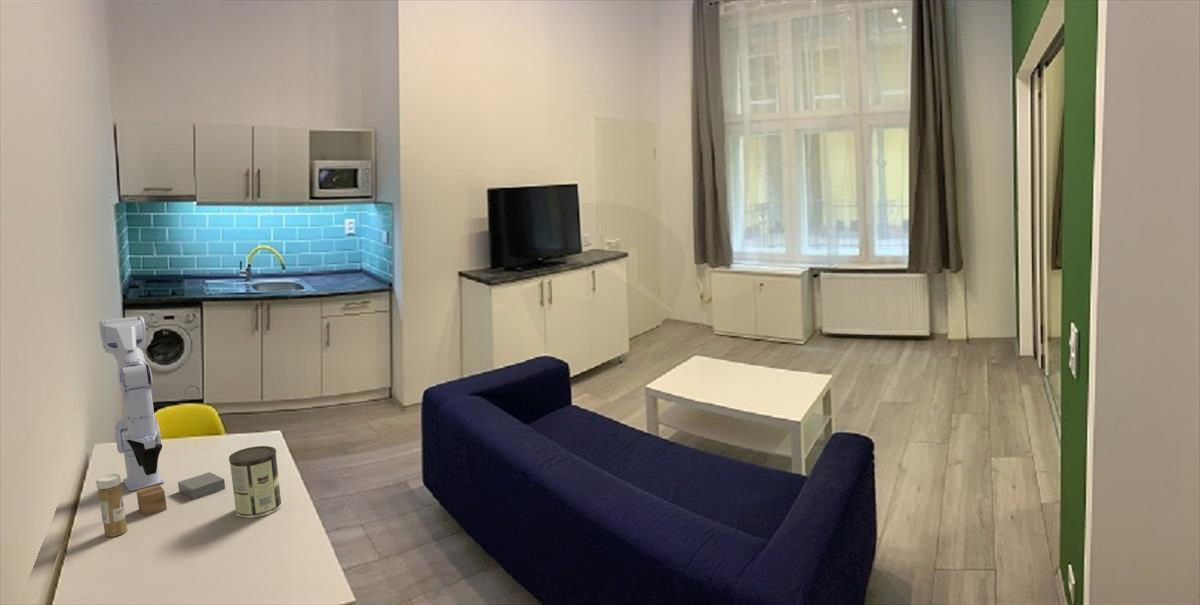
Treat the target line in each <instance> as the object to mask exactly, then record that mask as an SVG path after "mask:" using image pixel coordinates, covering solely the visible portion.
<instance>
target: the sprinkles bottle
mask: <svg viewBox="0 0 1200 605" xmlns="http://www.w3.org/2000/svg"><path fill="white" fill-rule="evenodd" d="M95 481H96V482H95V483H96V488H97V490H98V497H99V506H100V507H99V508H100V512H101V519H102V520H101V521H102V523H103V529H104V532H103V535H104V536H105V537H108V538H111V537H117V536H120V535H123V534H124V533H126V532H127V531H128V526H127V522H126V512H125V506H124V500H123V494H122V488H121V487H122V486H121V482H122V480H121V476H120V474H118V473H110V474H105V475H104V474H103V475H102V476H99V477H97V478H96V480H95Z"/></svg>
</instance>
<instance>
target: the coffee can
mask: <svg viewBox="0 0 1200 605" xmlns="http://www.w3.org/2000/svg"><path fill="white" fill-rule="evenodd" d="M228 461H229V465H230V473H231V474H230V475H231V482H232V490H233V497H234V506H235V515H236V516H237V517H239V518H242V517H243V519H255V518H256V517H257V518H262V517H264V516H268V515H271V514H273V513H275V512H277V511H278V510H279V509H280V508H282V499H281V498H282V497H281V491H280V490H281V489H280V479H279V472H278V471H279V470H278V463H277V449H276V448H275V447H273V446H268V445H261V446H260V445H259V446H251V447H246V448H242V449H239V450H237V451H235V452H233V453H231V454H230V455H229V457H228Z"/></svg>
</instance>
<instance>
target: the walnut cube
mask: <svg viewBox="0 0 1200 605" xmlns="http://www.w3.org/2000/svg"><path fill="white" fill-rule="evenodd" d="M135 491H136V497H137V499H136V500H137V505H138V510H139V513H141V515H142V517H147V516H149V515H152V514H156V513H157V514H158V513H160V512H164V511H167V509H168V507H167V500H166V499H167V498H166V492H165V489H164V488H163V487H162V486H161V485H160V484H157V485H153V486H149V487H145V488H141V489H137V490H135Z"/></svg>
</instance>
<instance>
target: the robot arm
mask: <svg viewBox="0 0 1200 605" xmlns="http://www.w3.org/2000/svg"><path fill="white" fill-rule="evenodd" d="M98 324H99V325H98V326H99V332H100V338H101V343H102V349H104V352H105V353H107V354H112V355H113V357H114V359H115V361H116V364H117V379H118V385H119V389H120V391H121V395H122V396H121V397H122V400H123V402H122V403H123V408H124V416H122V418H120V419H119V420H118V421H116V423H115V426H114V431H115V432H114V434H115V436H114V437H115V442H116V449H117V452H118V453H119V454H122V455H124V456H123V458H124V464H125V466H124V467H125V471H126V478H124V479H123V480H122V481H123V483H124V484H125V486H126V487H127V489H128V491H129V492H132V491H133V492H134V491H136V490H140V489H144V488H148V487H152V486H156V485H160V484H163V483H165V480H164V478H163V477H162V476H161V474H160V469H159V456H160V453H161V451H162V449H163V444H162V435H161V430H160V425H159V422H158V418H156V416H155V411H154V410H155V409H154V401H153V395H152V389H151V388H152V387H153V374H152V370H151V367H150V365H149V362H147V361H146V358H145V355H144V351H143V348H145V344H146V342H147V339H146V338H147V330H146V329H147V328H146V323H145V319H144V317H143V316H142V315H138V316H129V317H128V316H127V317H120V318H111V319H110V318H109V319H105V320H104V319H101V320H99V322H98Z"/></svg>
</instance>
